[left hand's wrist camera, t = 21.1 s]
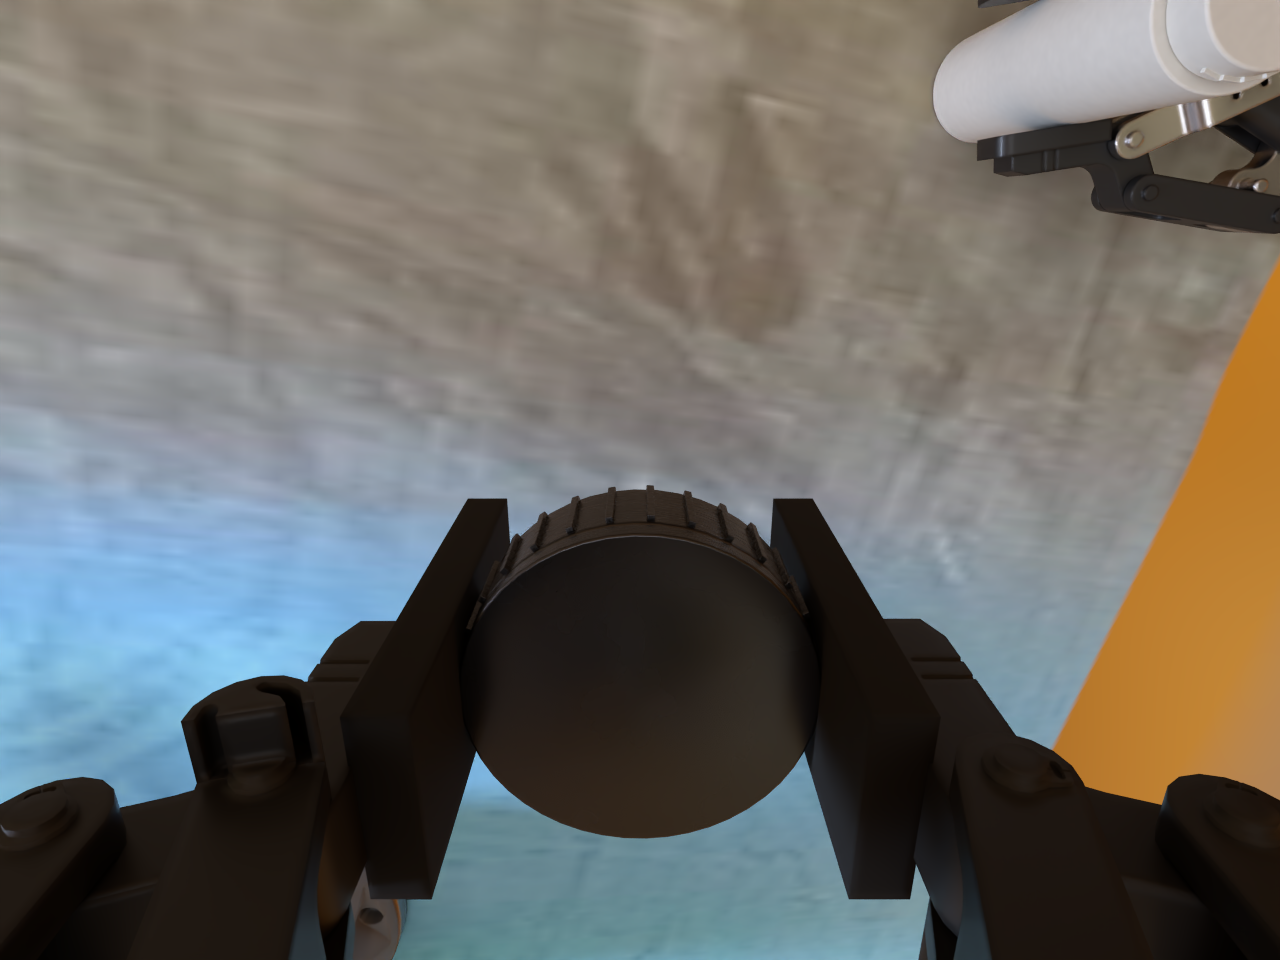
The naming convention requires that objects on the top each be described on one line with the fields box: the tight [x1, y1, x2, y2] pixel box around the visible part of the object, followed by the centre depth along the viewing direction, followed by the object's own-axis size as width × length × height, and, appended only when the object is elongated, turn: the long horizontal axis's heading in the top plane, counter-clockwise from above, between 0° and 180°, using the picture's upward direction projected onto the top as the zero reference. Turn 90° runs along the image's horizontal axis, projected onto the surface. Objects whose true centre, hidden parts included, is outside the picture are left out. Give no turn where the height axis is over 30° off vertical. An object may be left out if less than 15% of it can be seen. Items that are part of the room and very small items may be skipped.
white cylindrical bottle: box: [933, 0, 1280, 143], centre depth 24 cm, size 4×4×16 cm
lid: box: [459, 485, 821, 838], centre depth 11 cm, size 5×5×2 cm
